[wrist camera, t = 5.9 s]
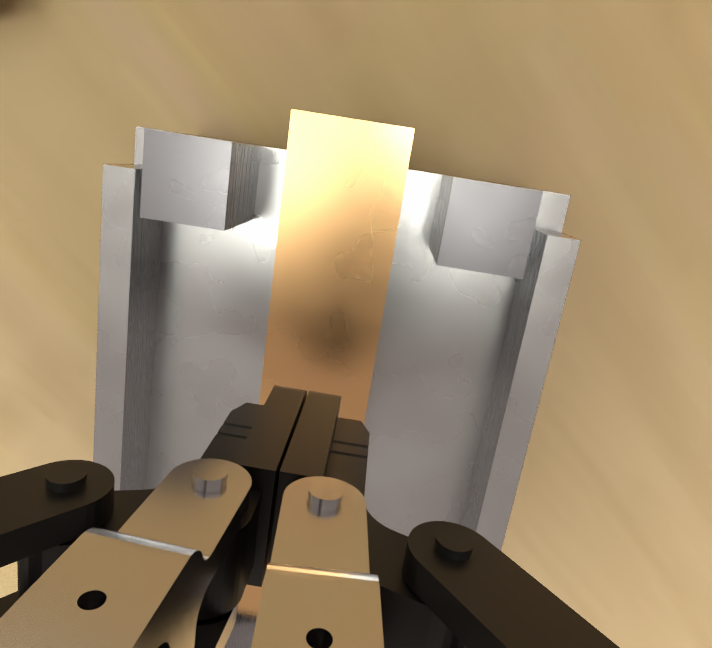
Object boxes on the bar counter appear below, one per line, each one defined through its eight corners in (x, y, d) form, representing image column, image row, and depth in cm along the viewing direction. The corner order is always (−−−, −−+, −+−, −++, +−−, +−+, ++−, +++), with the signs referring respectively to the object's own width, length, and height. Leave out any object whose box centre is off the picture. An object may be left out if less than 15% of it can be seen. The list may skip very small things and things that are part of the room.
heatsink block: (195, 135, 21) (78, 117, 13) (528, 188, 21) (610, 202, 13) (167, 520, 25) (66, 678, 17) (442, 567, 25) (464, 749, 17)
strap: (271, 107, 15) (257, 102, 13) (440, 133, 15) (445, 132, 13) (219, 623, 20) (205, 662, 18) (346, 645, 20) (342, 686, 18)
